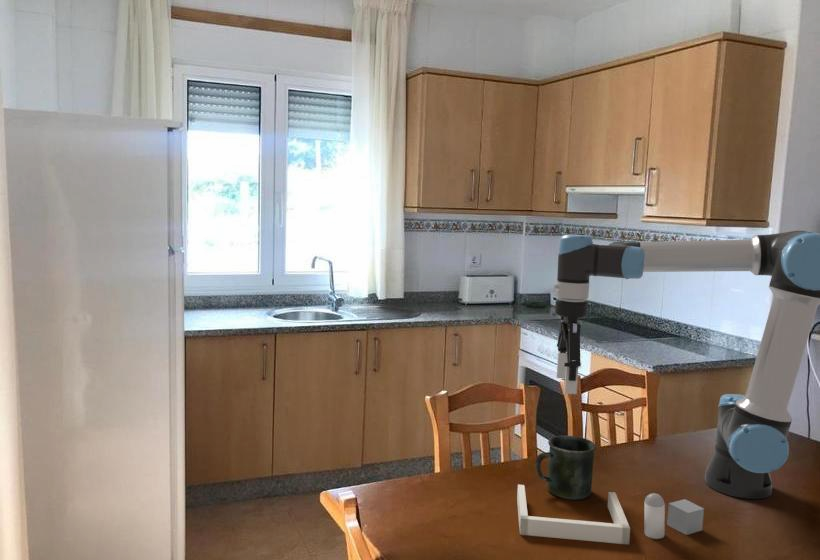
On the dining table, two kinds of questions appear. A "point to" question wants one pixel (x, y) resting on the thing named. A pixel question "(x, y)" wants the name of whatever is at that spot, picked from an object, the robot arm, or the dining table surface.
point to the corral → (575, 524)
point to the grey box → (685, 516)
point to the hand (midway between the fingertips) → (566, 385)
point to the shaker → (654, 516)
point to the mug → (568, 466)
